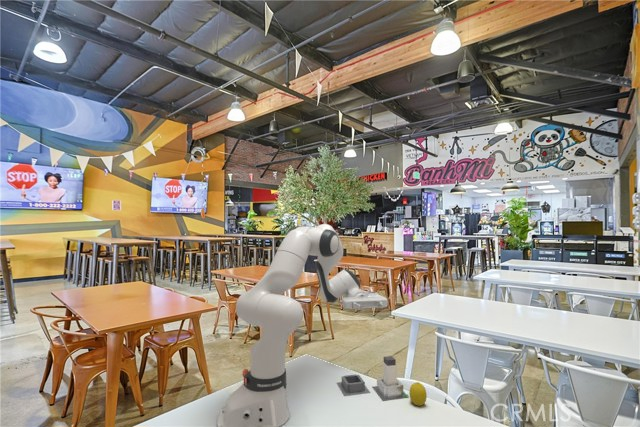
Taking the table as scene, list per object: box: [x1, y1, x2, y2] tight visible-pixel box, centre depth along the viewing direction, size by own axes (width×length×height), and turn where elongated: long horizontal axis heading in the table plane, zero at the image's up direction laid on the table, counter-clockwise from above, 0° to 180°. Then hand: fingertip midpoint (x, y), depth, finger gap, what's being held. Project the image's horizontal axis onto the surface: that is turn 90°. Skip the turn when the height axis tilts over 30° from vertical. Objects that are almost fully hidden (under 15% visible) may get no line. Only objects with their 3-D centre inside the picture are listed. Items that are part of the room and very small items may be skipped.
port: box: [371, 377, 410, 402], centre depth 114 cm, size 10×10×4 cm
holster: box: [336, 374, 371, 397], centre depth 118 cm, size 10×10×4 cm
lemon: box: [408, 381, 427, 407], centre depth 107 cm, size 6×6×8 cm
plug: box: [382, 355, 398, 386], centre depth 115 cm, size 4×4×12 cm
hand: (371, 306), depth 132 cm, fingers open, 8 cm apart
